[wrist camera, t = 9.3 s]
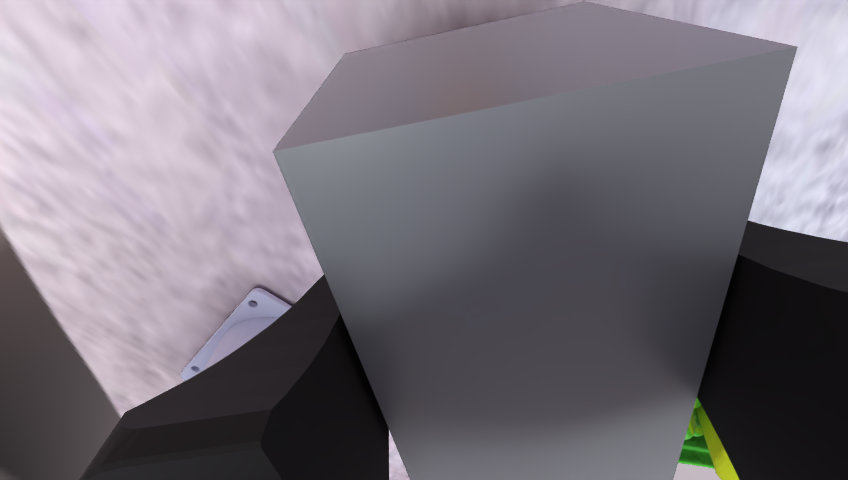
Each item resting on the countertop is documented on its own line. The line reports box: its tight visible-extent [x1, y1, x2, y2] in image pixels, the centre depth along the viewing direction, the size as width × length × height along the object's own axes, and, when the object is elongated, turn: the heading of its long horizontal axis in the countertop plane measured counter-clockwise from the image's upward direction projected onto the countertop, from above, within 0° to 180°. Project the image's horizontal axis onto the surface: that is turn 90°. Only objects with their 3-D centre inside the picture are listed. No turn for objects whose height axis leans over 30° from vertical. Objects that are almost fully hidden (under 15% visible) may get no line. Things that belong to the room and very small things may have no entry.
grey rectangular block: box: [273, 2, 797, 480], centre depth 10 cm, size 11×6×7 cm, turn 11°
